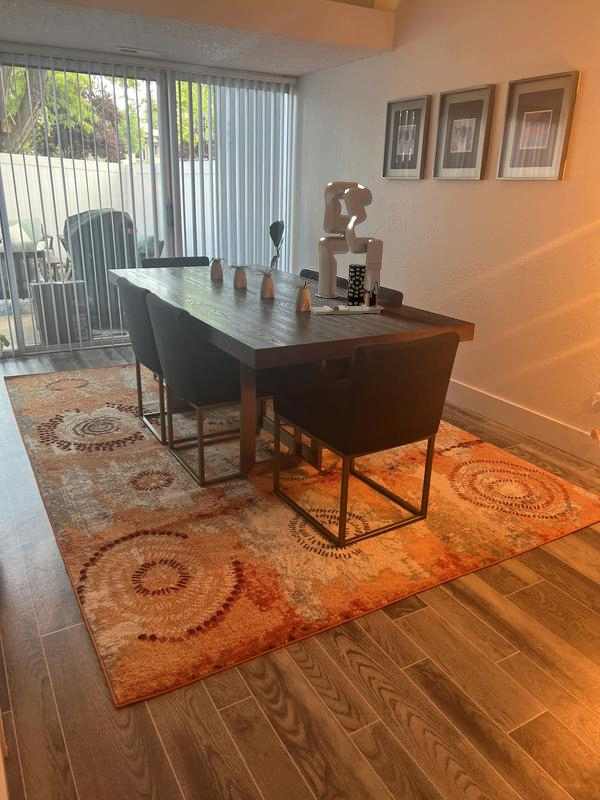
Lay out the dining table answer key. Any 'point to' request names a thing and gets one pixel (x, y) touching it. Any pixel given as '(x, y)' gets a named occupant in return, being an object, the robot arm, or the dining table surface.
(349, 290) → the white-spotted black cylinder
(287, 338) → the dining table surface
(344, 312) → the ticket board
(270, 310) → the dining table surface
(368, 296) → the stub
